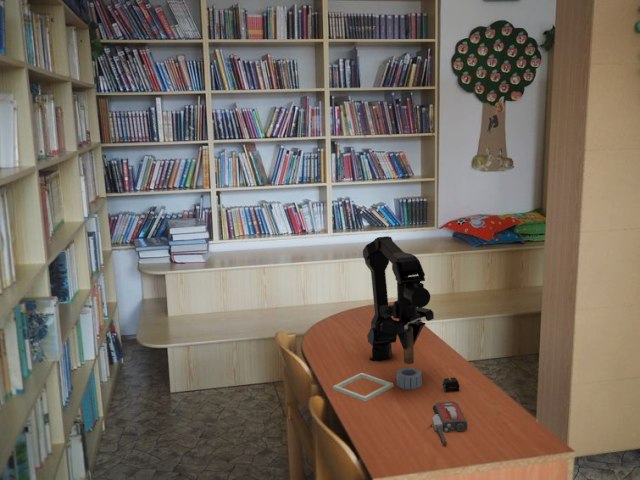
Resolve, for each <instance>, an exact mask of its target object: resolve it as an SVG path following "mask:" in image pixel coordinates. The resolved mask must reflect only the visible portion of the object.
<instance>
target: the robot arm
mask: <svg viewBox="0 0 640 480" xmlns="http://www.w3.org/2000/svg"><path fill="white" fill-rule="evenodd" d="M362 257H363V259H364V263H365V265H366V267H367V268H368V270H370V276H371V286H372V287H371V288H372V295H373V306H374V307H373V308H374V309H373V310H374V316H373V317H372V320H371V321H370V329H369V331H368V333H367V335H366V337H367V342H368V343H369V344H370V346H371V347H372V349H371V354H372V355H371V356H370V357H369V360H370V361H373V362H383V361H387V360H390V359H392V355H393V352H392V349H393V347H392V344H393V343H397V339H398V340H399V342H400V344H401V347H402V350H404V349H405V350H406V349H407V347H408V343H409V338H410V334H411V330H410V329H408V326H411V327H413V347H414V346H415V344H416V342H417V340H418V338H419V335H420V334H421V332H422V330H423V328H424V327H425V325H426V322H423V320H422V319H423V318H425V320H426V321H427V322H429V321H432V320H434V319H435V318H434V315H435V314H434V311H433V310H432V309H429V308H426V307H427V306H428V305H429V303H430V301H431V294H430V291H429V290H428V289H426V288H425V287H424V286H425V285H424V283H423V282H425V281H426V278H425V275H426V274H425V272H424V269H423V267H422V265H421V261H420V260H419V259H418V257H417V256H416V255H414V254H412V253H407V252H405V251H403V250H402V249H401V248H400V247H399V246H398V245H397V244H396V243H395V242H394V241H393V237H391V236H388V235H386V236H379V237H376V238H374V240H373V241H371V242H369V243H368V244H366V245H365V246H364V248H363V249H362ZM390 263H391V270H392V272H393V275H394V277H395V279H394V280H395V281H396V288H397V289H396V293H397V294H396V295H397V298H396V299H397V300H395V301H394V302H393V304H389V299H388V297H389V296H388V287H387V286H388V284H387V277H386V276H387V275H386V270H387V267H388V265H389V264H390ZM392 317H393V318H392ZM396 319H397V320H396ZM397 337H398V338H397Z"/></svg>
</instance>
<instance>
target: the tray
mask: <svg viewBox="0 0 640 480" xmlns="http://www.w3.org/2000/svg"><path fill="white" fill-rule="evenodd" d="M362 378H363V379H365V380H368V381H371V382H374V383H377V384H379V385H381V386H382V387H380V388H378V389H376V390H374V391H372V392H370V393H368V394H366V395H363V394H360V393H357V392H355V391H352V390H349V389H346V388H343V387H346V386H348V385H349V384H351V383H354V382H356V381H357V380H360V379H362ZM392 388H394V383H393V382H390V381H388V380H384V379H381V378H379V377H376V376H373V375H369V374H367V373H364V372H360V373H358V374H356V375H353V376H351V377H349V378H347V379H345V380H343V381H341V382H339V383H337V384H335V385H333V386H332V390H333V391H336V392H339V393H341V394H343V395H347V396H348V397H352V398H354V399H357V400H359V401H362V402H364V403H365V402H367V401H370V400H372V399H373V398H376V396H378V395H382V394H383V393H384V392H386V391H389V390H390V389H392Z"/></svg>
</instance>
